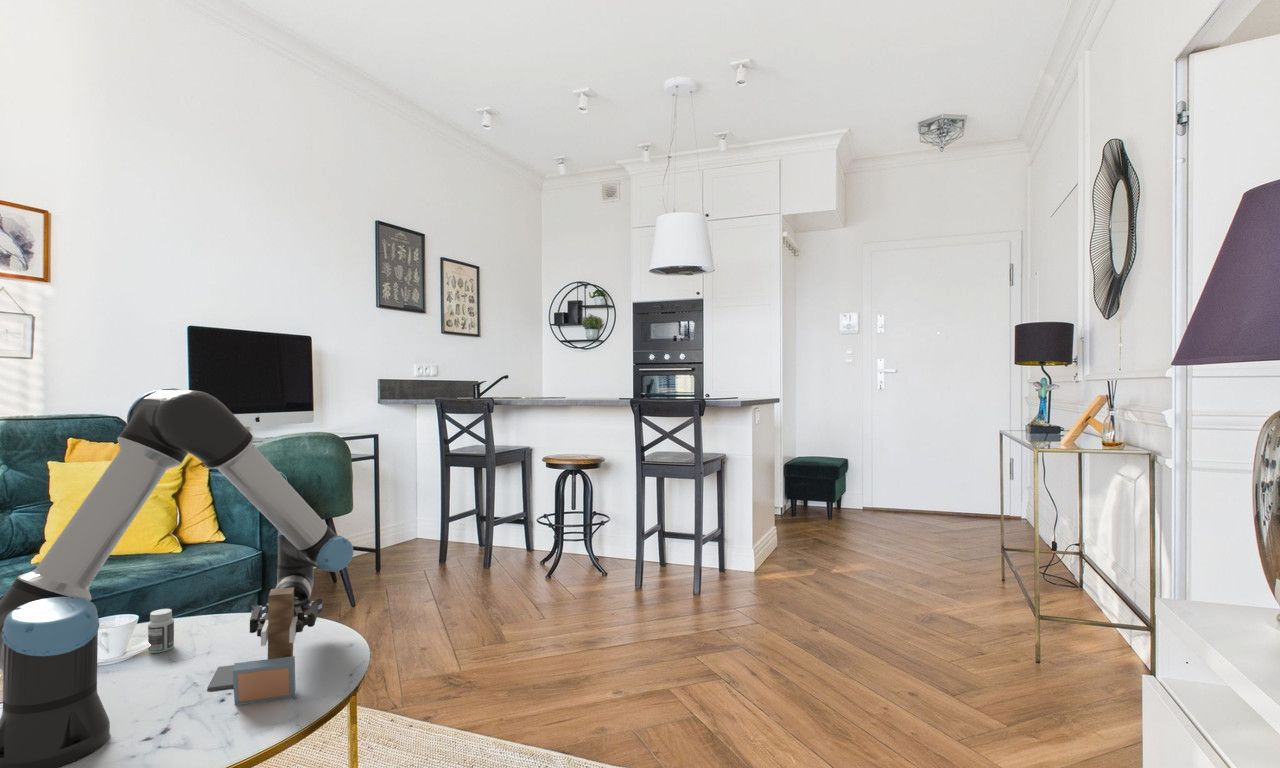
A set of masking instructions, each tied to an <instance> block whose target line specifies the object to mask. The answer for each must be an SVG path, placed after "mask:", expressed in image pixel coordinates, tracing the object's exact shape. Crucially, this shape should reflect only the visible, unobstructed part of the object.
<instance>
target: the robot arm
mask: <svg viewBox="0 0 1280 768" xmlns="http://www.w3.org/2000/svg"><path fill="white" fill-rule="evenodd" d="M116 439H117V443H118V445H119V451H118V452H117V453H116V455H115V457H114V458H113V460H111V462H110V464H109V465H108V466H107V468H106V469H105V470H104V472H103V473H102V475H101V476H100V477H99V479H98V481H97V482H96V483H95V485H94V486H93V487H92V489H91V490H90V492H89V493H88V495H87V496H86V497H85V499H84V500H83V502H81V505H80V506H79V507H78V509H76V511H75V513H74V514H73V515H72V517H71V519H70V520H68V522H67V524H66V526H64V529H63V530H62V531H61V533H60V534H59V535H58V536H57V539H55V541H54V543H52V545H51V547H50V548H49V549H48V551H47V552H46V554H44V557H43V558H42V559H41V560H40V562H39V563H38V565H37V567H36V568H35V569H33V570H32V571H28V572H25V573H22V574H20V575H17V577H16V579H15V580H14V582H13V583H12V584H11V585H10V587H9V588H8V589H7V591H6V593H3V594H1V595H0V669H1V672H2V713H1V716H0V768H58V767H62V766H64V765H67V764H70V763H72V762H75V761H77V760H80V759H81V758H83V757H86V756H88V755H90V754H91V753H93V752H95V751H96V750H98V749H99V748H101V746H103V745H104V744H105V743H106V742H107V740H108V739H109V737H110V729H111V728H110V727H111V726H110V724H111V722H110V719H109V716H108V714H107V711H106V710H105V707H104V704H103V702H102V700H101V698H100V696H99V694H98V651H99V650H98V649H99V648H98V647H99V646H98V645H99V643H98V641H99V640H98V639H99V637H98V636H99V634H98V633H99V628H100V619H99V616H98V608H97V607H96V605H95V604H94V603H93V602H92V601H91V600H92V598H93V597H92V595H91V593H90V585H91V584H92V582H93V581H94V579H95V578H96V576H97V575H98V573H99V572H100V570H101V568H102V567H103V566H104V565H105V563H106V561H107V560H108V558H109V557H110V556H111V554H112V552H113V551H114V550H115V548H116V546H117V545H118V544H119V542H120V540H121V539H122V538H123V536H124V534H125V533H126V532H127V530H128V528H129V527H130V525H131V524H132V522H133V521H134V520H135V518H136V517H137V515H138V514H139V512H140V511H141V509H142V507H144V505H145V503H146V502H147V500H148V499H149V497H150V496H151V494H152V493H153V491H154V490H155V489H156V486H157V485H158V484H159V482H160V481H161V479H162V478H163V477H164V475H165V474H166V471H167V470H169V469H172V468H175V467H178V466H181V464H182V463H183V461H184V460H185V459H186V457H187V456H188V454H190V455H192V456H193V457H195V458H197V459H198V460H199V461H200V462H202V463H203V465H205V467H207V469H209V470H210V469H211V470H218V472H219V473H221V474H222V475H223V476H224V477H225V478H226V479H227V480H228V481H229V483H231V484H232V485H233V486H234V487H235V489H236V490H238V491H239V492H240V493H241V494H242V495H243V496H244V497H245V498H246V499H247V500H248V502H249V503H251V504H252V505H253V506H254V507H255V509H257V510H258V512H260V513H261V514H262V515H263V516H264V517H265V519H267V520H268V521H269V522H270V523H271V524H272V525H273V526H274V527H275V528H276V530H277V531H278V533H277V536H276V537H277V571H276V572H277V575H276V576H277V577H276V581H277V582H276V586H275V588H274V589H280V588H291V587H294V617H293V620H292V623H291V626H290V636H289V643H293V644H294V643H295V639H296V637H297V634H298V633H302V632H303V631H304V629H305V626H307V627H308V628H309V627H310V628H312V627H314V626H315V624H316V621H317V618H318V616H319V614H320V613H321V612H322V611H323V598H317V599H315V600H310V599H311V595H312V591H313V587H314V586H315V577H316V575H315V574H314V568H317V569H319V570H322V571H323V572H324V571H328V572H333V573H335V572H339V571H341V570H343V569H345V568H346V567H347V566H349V563H351V561H352V558H353V556H354V547H353V546H354V545H353V544H352V542H351V541H350V540H349V539H347V538H345V537H344V536H342V535H338V534H336V533H335V531H334V530H332V529H331V527H330V526H329V525H328V524H327V523H326V522H325V521H324V520H323V519H322V518H321V517H320V515H318V513H316V511H315V510H314V509H313V508H312V507H311V506H310V505H309V504H308V502H306V500H305V499H304V498H303V497H302V496H301V495H300V494H299V493H298V491H296V489H294V487H293V486H292V485H291V484H290V483H289V482H288V480H287V479H285V477H283V475H281V473H280V472H279V471H278V470H277V469H276V468H275V467H274V466H273V464H272V463H271V462H270V461H269V460H268V459H267V457H265V456H264V454H263V453H262V452H261V451H260V450H259V449H258V448H257V447H256V446H255V445H254V443H253V441H254V436H253V434H252V433H251V432H250V430H248V429H247V428H246V426H245V425H244V424H243V423H242V422H241V421H240V420H239V419H238V418H237V416H236V415H235V414H234V413H233V412H232V411H231V410H230V409H229V408H228V407H227V406H226V405H225V404H224V403H223V402H222V401H220V400H219V399H218V398H217V397H215V396H213V395H211V394H209V393H207V392H204V391H200V390H189V389H188V390H187V389H179V388H173V387H172V388H171V387H170V388H167V387H166V388H160V389H156V390H152V391H149V392H146V393H143V394H142V395H141V396H139V397H138V398H136V400H135V401H134V402H133V403H132V404H131V406H130V407H129V409H128V411H127V415H126V426H125V427H124V428H123V430H122V432H120V434H119V435H118V437H117V438H116ZM307 611H308V612H307ZM305 612H307V615H306V616H305ZM249 633H250V634H254V633H255V634H256V637H260V647H266V645H267V644H268V602H267V603H266V604H265V606H263V605H258V604H253V605H251V615H250V619H249Z"/></svg>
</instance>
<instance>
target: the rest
mask: <svg viewBox="0 0 1280 768" xmlns="http://www.w3.org/2000/svg"><path fill="white" fill-rule="evenodd" d="M233 667H234V664H231V665H230V664H229V665H222V666H218V667H217V669H216V671H214V675H213V676H212V678H211V680H210V682H209V683H208V685H207V687H206V688H207V689H206V691H207V692H209V691H216V690H217V691H218V690H222V689H223V690H224V689H231V688H233V689H234V686H233Z"/></svg>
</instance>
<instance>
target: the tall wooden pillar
mask: <svg viewBox="0 0 1280 768" xmlns="http://www.w3.org/2000/svg"><path fill="white" fill-rule="evenodd" d="M267 603H268V640H267V659H275V658H283V657H292V656H294V642H293V643H289V636H290V626H291V623H292V620H293V617H294V587H291V588H280V589H275V588H271V589H270V591H269V593H268V602H267Z"/></svg>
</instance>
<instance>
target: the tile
mask: <svg viewBox="0 0 1280 768" xmlns="http://www.w3.org/2000/svg"><path fill="white" fill-rule="evenodd" d="M233 665H234V667H233V686H234V687H233V698H234V699H233V700H234V706H238V705H245V704H251V703H261V702H266V701H274V700H280V699H288V698H293V697H295V695H296V690H297V689H296V659H295V655H293V656H292V657H283V658H275V659H268V658H265V659H258V660H252V661H251V660H250V661H243V662H236V663H235V662H234V663H233Z"/></svg>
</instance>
